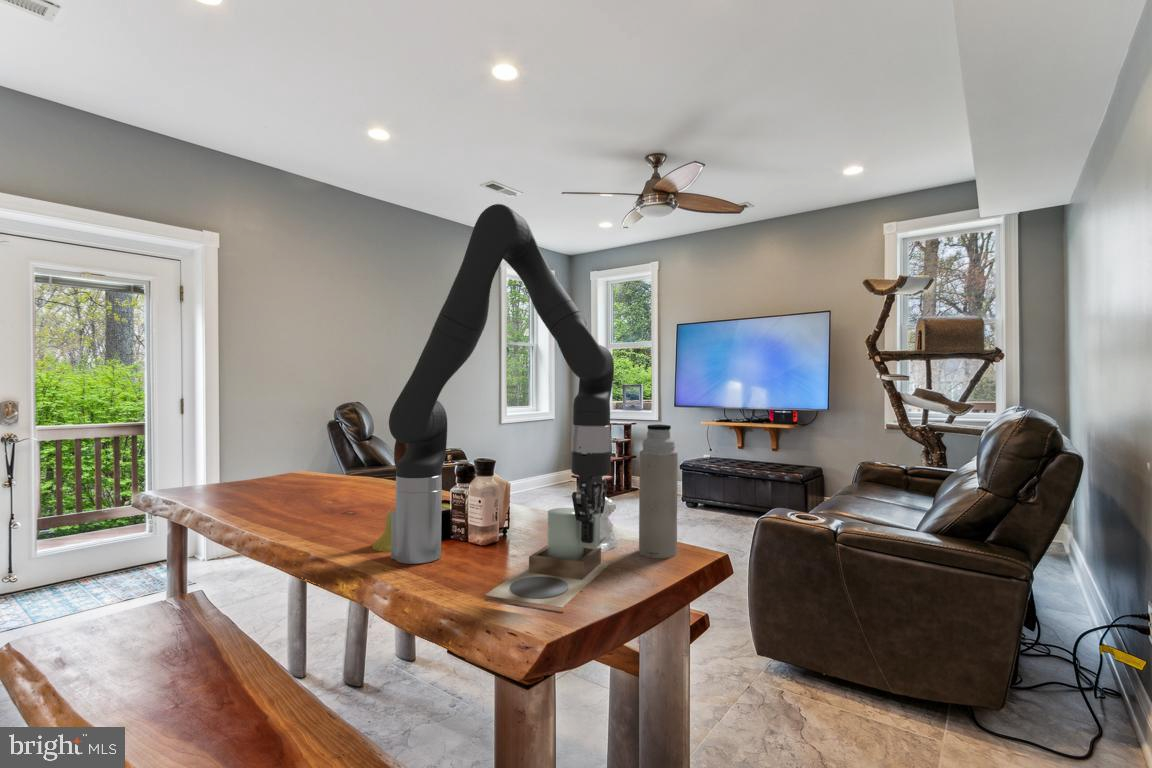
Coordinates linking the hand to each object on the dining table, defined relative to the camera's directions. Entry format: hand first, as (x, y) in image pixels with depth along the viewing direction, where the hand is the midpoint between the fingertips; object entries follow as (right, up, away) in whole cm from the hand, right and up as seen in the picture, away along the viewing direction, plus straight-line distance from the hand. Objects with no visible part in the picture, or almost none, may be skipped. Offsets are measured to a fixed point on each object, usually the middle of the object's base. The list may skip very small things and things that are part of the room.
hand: (590, 540), depth 107 cm
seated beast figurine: (+3, -7, +17) cm, 19 cm away
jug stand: (-7, -7, -4) cm, 11 cm away
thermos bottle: (+15, -7, +12) cm, 21 cm away
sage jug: (-3, -5, +1) cm, 6 cm away
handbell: (-42, -7, +21) cm, 48 cm away
